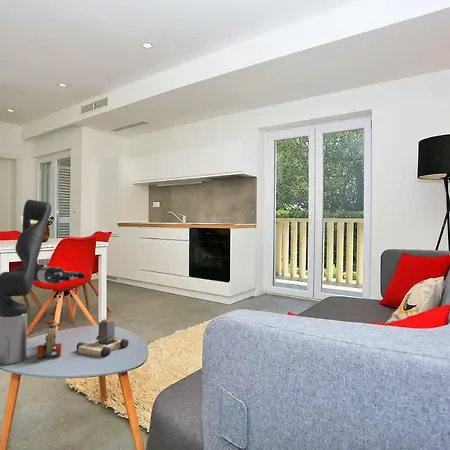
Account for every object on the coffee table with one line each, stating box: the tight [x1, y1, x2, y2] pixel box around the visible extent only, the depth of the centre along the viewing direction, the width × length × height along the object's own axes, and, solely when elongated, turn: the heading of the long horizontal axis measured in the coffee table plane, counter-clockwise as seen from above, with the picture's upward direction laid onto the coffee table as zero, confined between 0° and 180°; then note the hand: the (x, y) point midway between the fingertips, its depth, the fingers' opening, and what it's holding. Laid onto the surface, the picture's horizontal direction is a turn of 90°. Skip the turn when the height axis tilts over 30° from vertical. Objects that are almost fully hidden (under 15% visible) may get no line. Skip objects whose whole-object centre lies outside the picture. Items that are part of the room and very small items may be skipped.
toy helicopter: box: [36, 319, 62, 359], centre depth 144 cm, size 8×21×14 cm, turn 23°
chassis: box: [76, 334, 130, 358], centre depth 147 cm, size 16×15×3 cm
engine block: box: [98, 318, 116, 345], centre depth 149 cm, size 4×4×11 cm
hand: (77, 277), depth 157 cm, fingers open, 8 cm apart
